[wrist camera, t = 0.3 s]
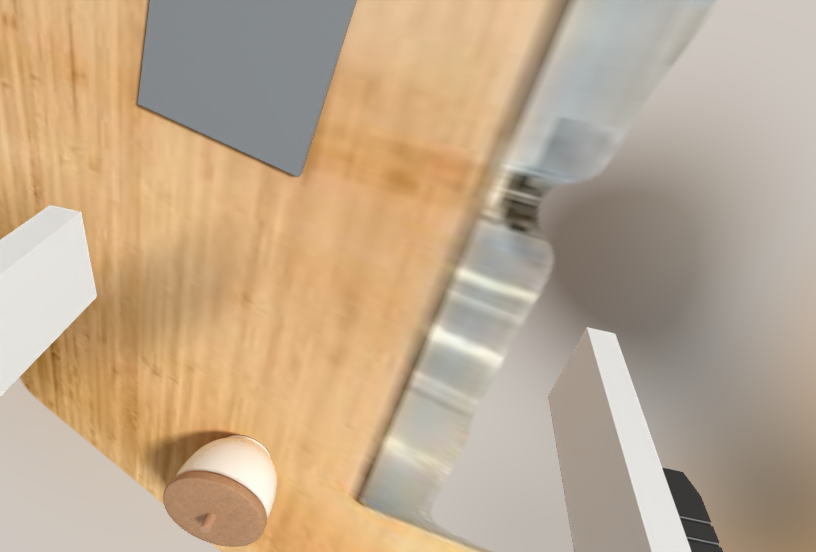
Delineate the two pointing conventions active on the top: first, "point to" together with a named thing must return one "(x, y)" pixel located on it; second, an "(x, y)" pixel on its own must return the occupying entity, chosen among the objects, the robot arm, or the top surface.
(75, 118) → the top surface
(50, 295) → the robot arm
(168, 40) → the rubber mat
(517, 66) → the top surface
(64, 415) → the top surface
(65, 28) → the top surface
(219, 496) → the lidded jar
